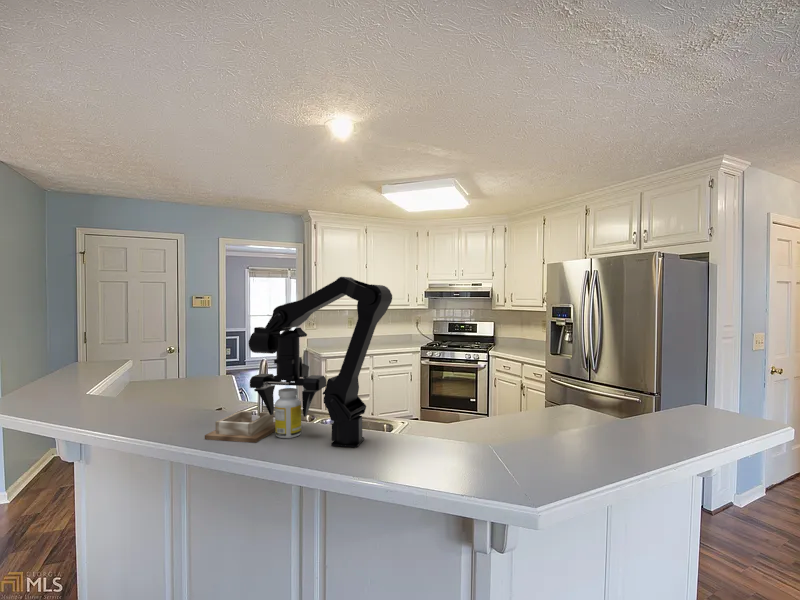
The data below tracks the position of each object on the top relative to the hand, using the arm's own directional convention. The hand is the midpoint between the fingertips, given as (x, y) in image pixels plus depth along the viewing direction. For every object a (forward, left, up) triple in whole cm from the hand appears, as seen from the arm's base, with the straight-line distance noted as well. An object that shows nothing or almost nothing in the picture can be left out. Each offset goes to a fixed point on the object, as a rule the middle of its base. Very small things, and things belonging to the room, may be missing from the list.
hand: (288, 415), depth 110 cm
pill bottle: (0, 0, -5) cm, 5 cm away
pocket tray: (+12, 0, -5) cm, 13 cm away
